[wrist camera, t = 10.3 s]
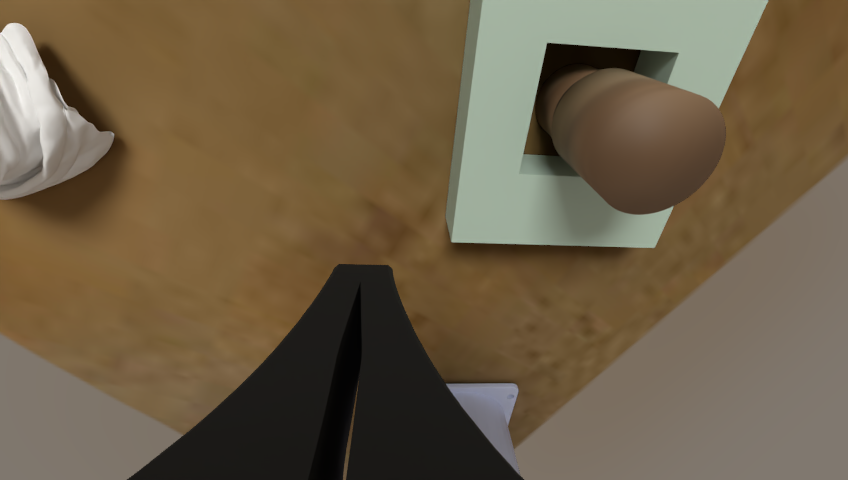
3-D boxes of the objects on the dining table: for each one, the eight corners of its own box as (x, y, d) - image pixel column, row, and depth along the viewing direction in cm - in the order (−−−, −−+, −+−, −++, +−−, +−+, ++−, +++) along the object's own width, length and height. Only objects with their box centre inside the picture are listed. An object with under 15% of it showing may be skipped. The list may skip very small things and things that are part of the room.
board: (628, 222, 21) (654, 247, 19) (445, 216, 20) (451, 242, 18) (739, -53, 15) (796, -60, 13) (479, -80, 14) (494, -92, 12)
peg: (600, 144, 19) (695, 214, 13) (522, 143, 19) (582, 215, 13) (624, 57, 17) (749, 93, 11) (537, 55, 17) (616, 91, 11)
